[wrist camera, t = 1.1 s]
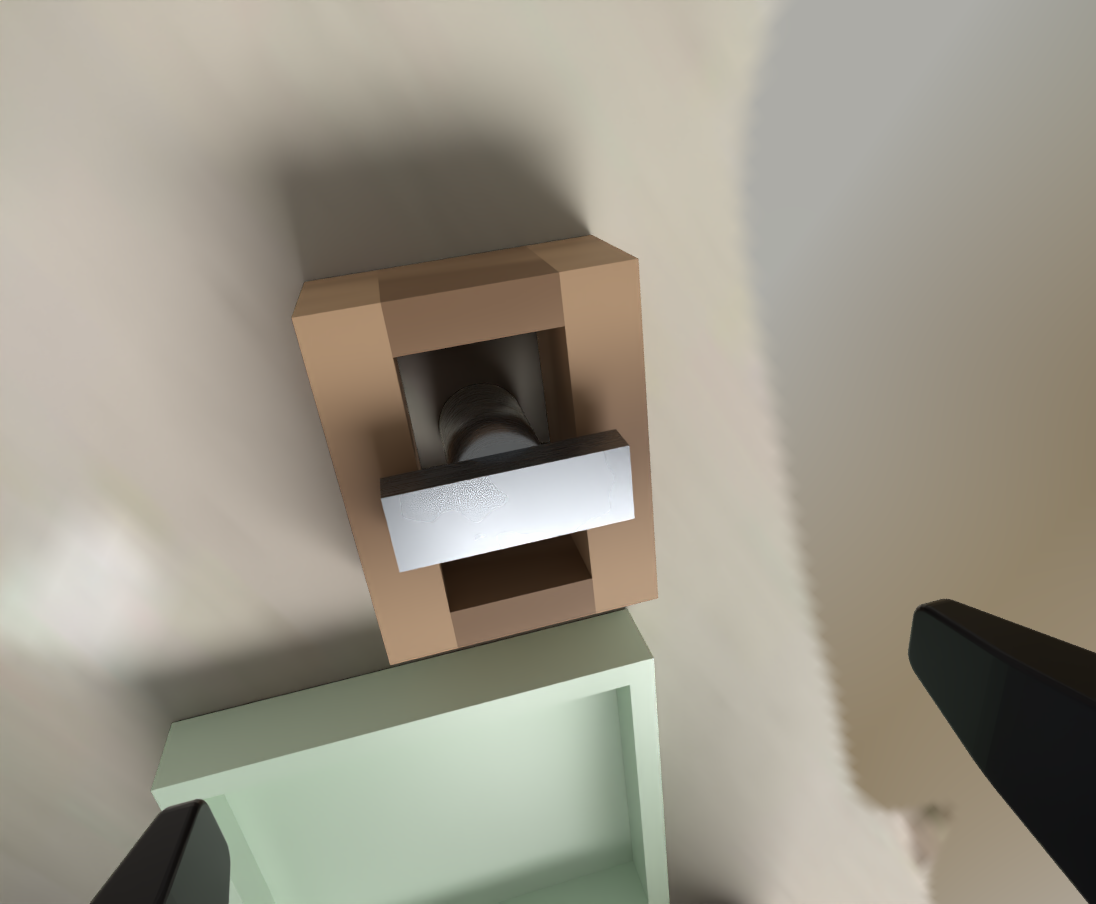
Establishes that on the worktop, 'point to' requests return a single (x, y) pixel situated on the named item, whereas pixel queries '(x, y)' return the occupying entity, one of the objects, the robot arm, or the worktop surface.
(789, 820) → the worktop surface
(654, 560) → the collar
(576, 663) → the tray
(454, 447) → the grey t-shaped knob
